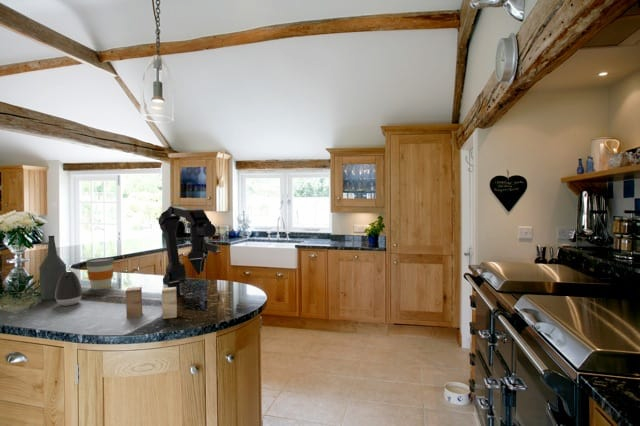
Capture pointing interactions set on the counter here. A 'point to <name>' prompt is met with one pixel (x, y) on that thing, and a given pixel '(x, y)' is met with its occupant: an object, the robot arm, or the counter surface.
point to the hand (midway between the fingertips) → (200, 272)
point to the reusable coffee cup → (100, 272)
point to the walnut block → (134, 302)
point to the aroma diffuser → (68, 289)
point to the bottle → (50, 271)
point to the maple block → (169, 302)
